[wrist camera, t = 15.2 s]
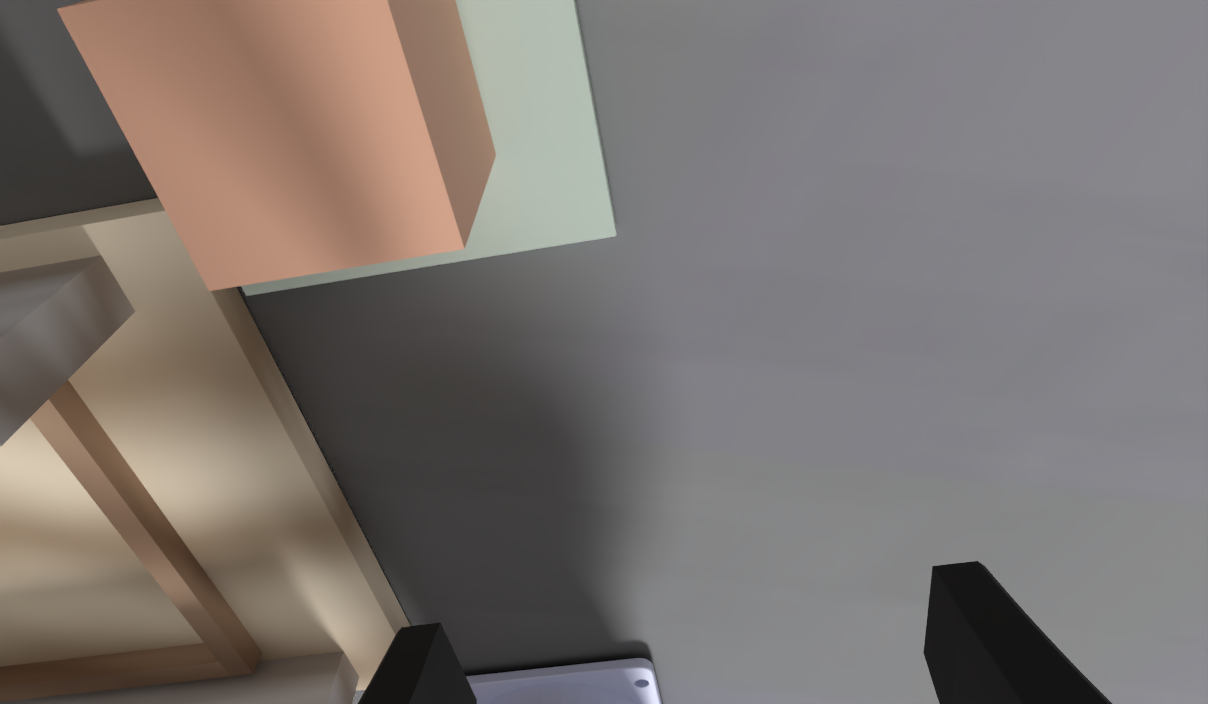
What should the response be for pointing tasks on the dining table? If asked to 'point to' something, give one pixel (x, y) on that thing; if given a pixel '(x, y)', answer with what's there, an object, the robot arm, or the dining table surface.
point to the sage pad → (522, 139)
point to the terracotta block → (296, 126)
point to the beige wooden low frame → (164, 488)
